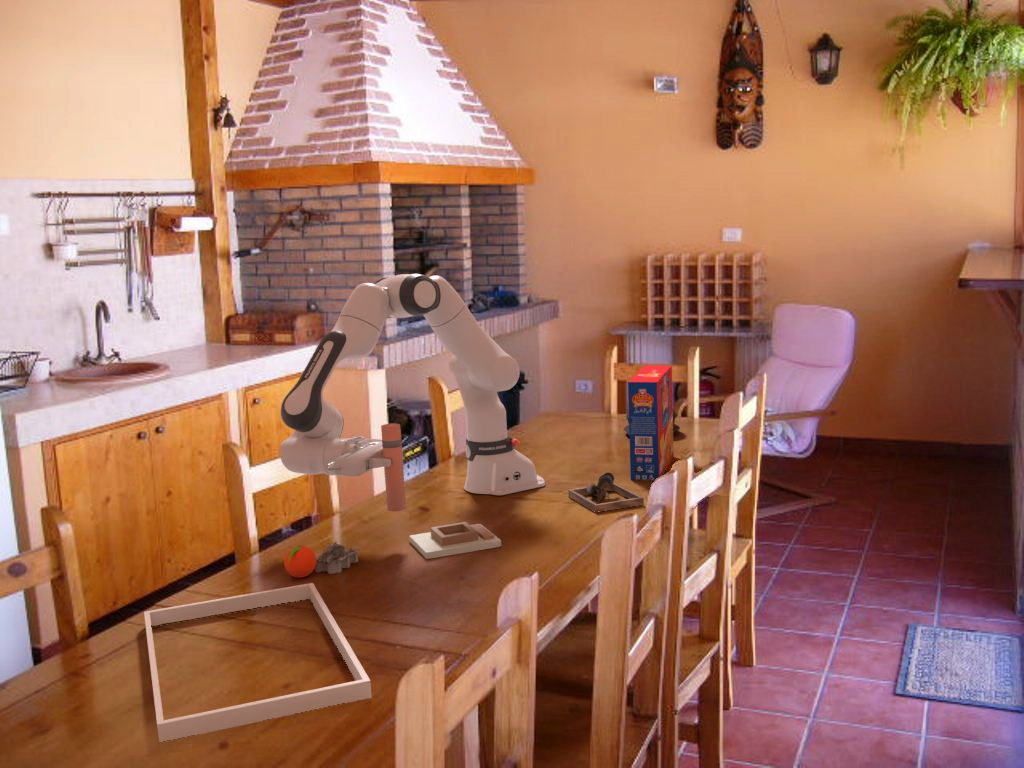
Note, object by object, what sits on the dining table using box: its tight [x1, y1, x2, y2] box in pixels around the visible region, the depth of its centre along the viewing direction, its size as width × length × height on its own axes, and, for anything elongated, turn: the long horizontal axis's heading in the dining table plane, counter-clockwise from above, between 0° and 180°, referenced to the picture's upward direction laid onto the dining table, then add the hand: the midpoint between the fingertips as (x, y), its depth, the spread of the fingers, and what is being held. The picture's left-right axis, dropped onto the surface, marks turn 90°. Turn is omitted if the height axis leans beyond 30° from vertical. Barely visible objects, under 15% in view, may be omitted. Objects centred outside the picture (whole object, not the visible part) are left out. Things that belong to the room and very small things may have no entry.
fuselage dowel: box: [380, 423, 407, 512], centre depth 247 cm, size 4×4×20 cm
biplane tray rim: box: [143, 582, 373, 743], centre depth 189 cm, size 33×50×3 cm, turn 21°
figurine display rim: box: [567, 482, 645, 513], centre depth 276 cm, size 14×17×2 cm
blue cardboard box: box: [627, 365, 675, 482], centre depth 305 cm, size 28×8×28 cm, turn 163°
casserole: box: [623, 408, 681, 436], centre depth 350 cm, size 25×19×8 cm
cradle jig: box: [408, 521, 502, 560], centre depth 247 cm, size 18×14×4 cm
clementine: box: [283, 544, 317, 579], centre depth 229 cm, size 8×7×7 cm
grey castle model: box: [314, 541, 361, 575], centre depth 236 cm, size 11×8×4 cm
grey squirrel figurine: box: [586, 472, 615, 503], centre depth 279 cm, size 8×7×9 cm
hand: (396, 459), depth 246 cm, fingers closed on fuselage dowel, 4 cm apart
